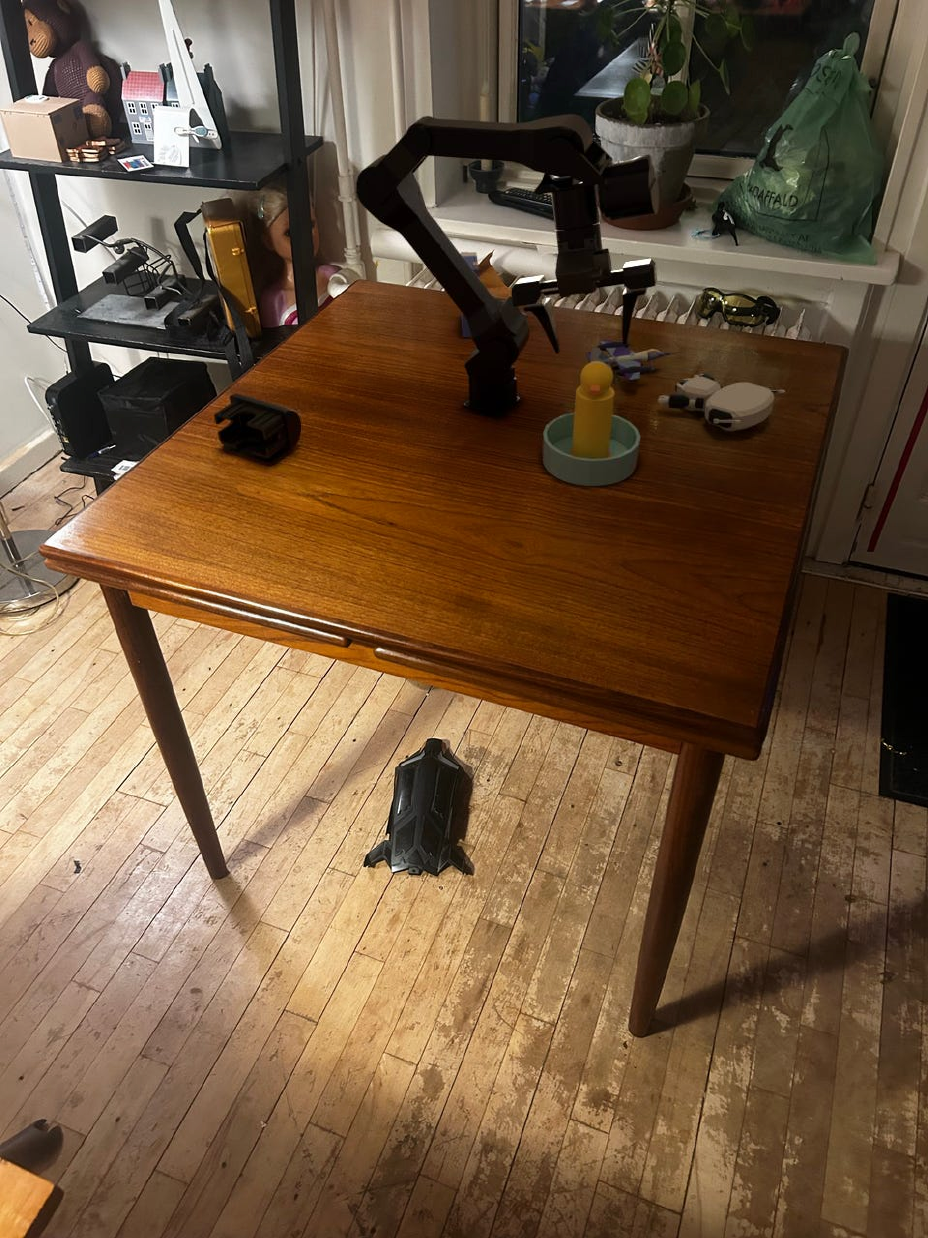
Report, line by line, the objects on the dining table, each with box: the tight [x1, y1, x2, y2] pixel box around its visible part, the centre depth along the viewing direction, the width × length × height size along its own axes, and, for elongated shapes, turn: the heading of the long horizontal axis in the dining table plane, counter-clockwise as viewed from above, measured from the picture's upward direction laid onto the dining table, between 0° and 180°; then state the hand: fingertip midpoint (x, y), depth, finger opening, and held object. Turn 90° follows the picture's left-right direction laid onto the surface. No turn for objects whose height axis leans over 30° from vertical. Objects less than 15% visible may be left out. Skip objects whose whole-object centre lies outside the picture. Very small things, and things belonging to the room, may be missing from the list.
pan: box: [541, 411, 641, 487], centre depth 127 cm, size 13×13×4 cm
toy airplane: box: [585, 339, 682, 382], centre depth 147 cm, size 13×14×4 cm
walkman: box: [460, 251, 479, 338], centre depth 158 cm, size 8×3×12 cm, turn 1°
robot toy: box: [657, 373, 786, 432], centre depth 136 cm, size 12×4×15 cm
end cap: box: [213, 393, 302, 467], centre depth 130 cm, size 10×7×7 cm
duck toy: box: [570, 361, 615, 459], centre depth 123 cm, size 6×6×14 cm
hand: (591, 348), depth 127 cm, fingers open, 9 cm apart
